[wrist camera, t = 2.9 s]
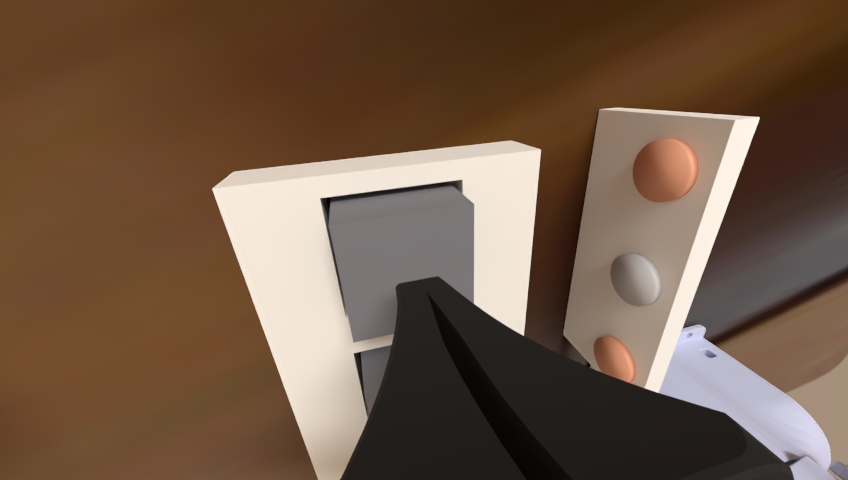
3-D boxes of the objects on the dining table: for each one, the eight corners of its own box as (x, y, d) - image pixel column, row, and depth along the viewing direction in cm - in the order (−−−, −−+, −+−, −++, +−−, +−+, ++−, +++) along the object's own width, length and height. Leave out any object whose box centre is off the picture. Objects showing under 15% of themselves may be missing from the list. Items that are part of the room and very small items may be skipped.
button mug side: (448, 182, 13) (474, 204, 11) (451, 279, 16) (473, 316, 13) (330, 197, 13) (328, 225, 10) (350, 298, 15) (353, 342, 12)
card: (617, 107, 16) (759, 117, 10) (576, 331, 22) (652, 409, 16) (591, 110, 15) (724, 121, 10) (557, 335, 21) (629, 416, 16)
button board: (511, 140, 15) (540, 149, 13) (495, 437, 25) (511, 471, 22) (233, 171, 13) (212, 188, 11) (335, 484, 22) (335, 526, 20)
